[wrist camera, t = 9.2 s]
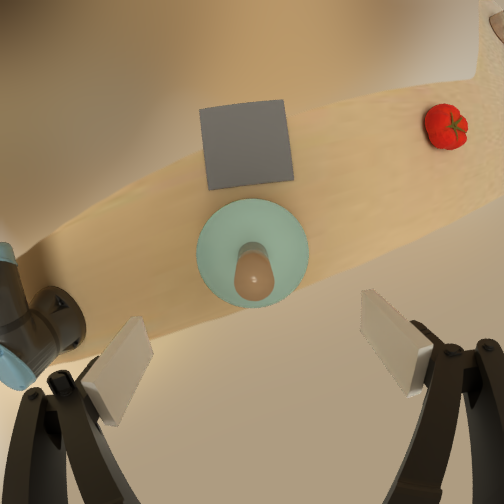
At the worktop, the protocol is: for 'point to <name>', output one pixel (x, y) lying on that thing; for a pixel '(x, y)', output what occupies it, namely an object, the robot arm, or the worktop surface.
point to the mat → (246, 144)
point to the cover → (252, 253)
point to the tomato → (446, 127)
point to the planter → (498, 24)
